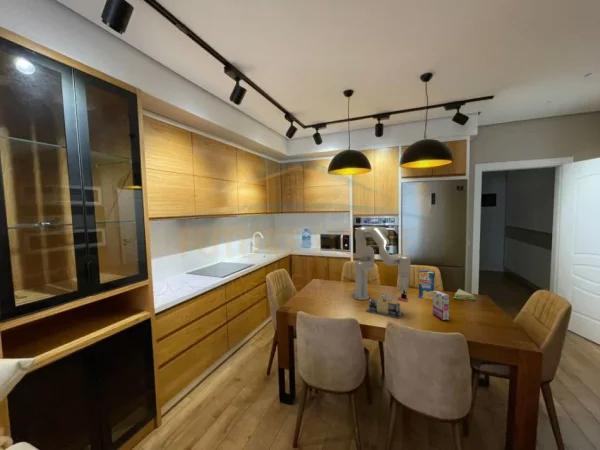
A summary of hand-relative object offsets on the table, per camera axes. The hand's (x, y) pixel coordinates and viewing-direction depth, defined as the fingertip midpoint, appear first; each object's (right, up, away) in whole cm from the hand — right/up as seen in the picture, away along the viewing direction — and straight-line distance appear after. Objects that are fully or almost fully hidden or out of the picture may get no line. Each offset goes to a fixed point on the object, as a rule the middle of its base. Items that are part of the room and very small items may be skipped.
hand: (403, 300), depth 179 cm
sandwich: (+62, -8, +33) cm, 70 cm away
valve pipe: (-12, -10, +6) cm, 17 cm away
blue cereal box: (+33, -8, +34) cm, 48 cm away
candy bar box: (+23, -10, -4) cm, 26 cm away
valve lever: (-6, 0, +1) cm, 6 cm away
